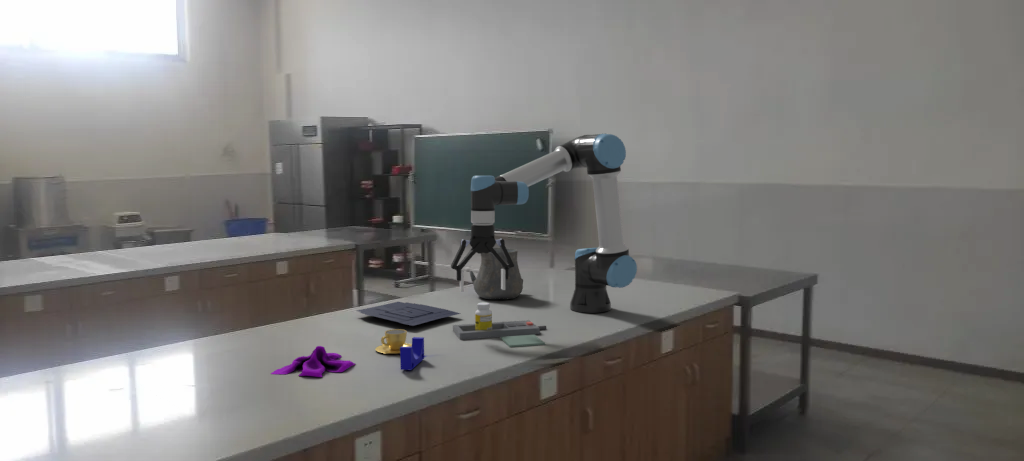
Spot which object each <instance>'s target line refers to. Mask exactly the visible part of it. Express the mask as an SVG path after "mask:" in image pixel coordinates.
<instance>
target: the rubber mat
mask: <svg viewBox="0 0 1024 461" xmlns="http://www.w3.org/2000/svg"><path fill="white" fill-rule="evenodd" d="M500 340H502V341H503V342H504V344H505V345H507V346H508V347H509V348H519V347H534V346H545V345H546V343H545V341H543V340H542V339H541V338H540V337H539V336H537V334H535V335H520V336H506V337H500Z"/></svg>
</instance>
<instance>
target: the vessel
mask: <svg viewBox="0 0 1024 461" xmlns="http://www.w3.org/2000/svg"><path fill="white" fill-rule="evenodd" d="M493 249H494V250H495V251H496V252H497V254H498V255H499V256H500V257H501V258H502V259H503V261H504V262H505V263H506V264H508V263H507V261H506V259H505V256H504V254H503V252H502V250H501V248H500V247H493ZM506 249H507V251H508V253H509V255H510V257H511V260H512V262H513V264H514V267H511V268H509V270H508V279H505V290H502V289H501V269H504V268H503V266H502V265H501V264H500V263H499V262H498V261H497V259H496V258H495V257H494V256H493V255H492V254H491V252H489V253H481V254H480V266H479V270H478V273H477V276H476V275H475V274H474V272H473V271H472V270H470V271H469V277H470V281H471V282H472V285H473V290H474V292H475V294H476V295H478V297H480V298H481V299H484V300H492V301H493V300H511V299H515V298H517V297H518V296H520V295H521V293H522V291H523V288H524V285H523V284H524V278H522V276H521V275H522V274H521V273H520V268H519V262H518V252H519V251H518V249H516V248H506Z"/></svg>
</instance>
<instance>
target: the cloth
mask: <svg viewBox="0 0 1024 461" xmlns="http://www.w3.org/2000/svg"><path fill="white" fill-rule="evenodd" d="M341 358H342V355H341V354H339V353H337V352H327V351H326V349H325V347H324V346H322V345H317V346H316V347H315V348H314V350H313V351H312V352H311V354H309V355H307V356H305V355H301V356H298V357H296V358H295V359H293V360H292V362H291V363H290V364H289V365H285V366H282V367H281V368H278V369H275V370H274V371H272V372H271V373H270V375H278V376H279V375H288V374H290V373H292V372H294V371H297V372H300V373H299V374H298V376H299V377H304V376H305V377H316V378H323V375H322V374H324V373H325V372H329V373H344V372H345V371H346V370H347V369H349V368H351V367H353V366H355V365H356V363H354V362H353V361H351V360H345V359H344V360H342V359H341Z"/></svg>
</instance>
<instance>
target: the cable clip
mask: <svg viewBox="0 0 1024 461" xmlns="http://www.w3.org/2000/svg"><path fill="white" fill-rule="evenodd" d="M411 344H412V347H408V346H402V347H400V350H399V351H400V353H399V355H400V356H399V358H400V370H401V371H402V370H403V371H412V370H414V368H415V367H417V365H419V364H420V363H421V362H422V361H423V360H424V359H425V337H423V336H422V337H421V336H419V337H417V336H413V337H412V338H411Z"/></svg>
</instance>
